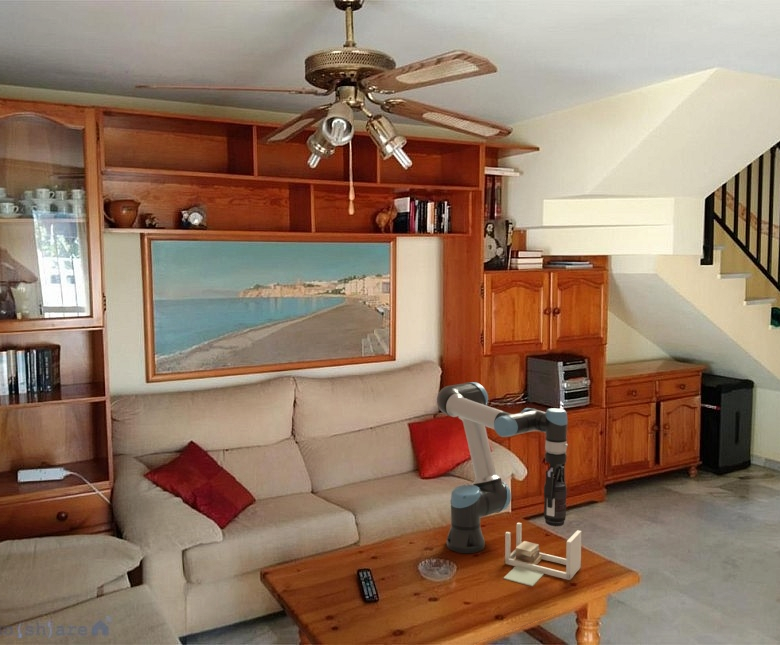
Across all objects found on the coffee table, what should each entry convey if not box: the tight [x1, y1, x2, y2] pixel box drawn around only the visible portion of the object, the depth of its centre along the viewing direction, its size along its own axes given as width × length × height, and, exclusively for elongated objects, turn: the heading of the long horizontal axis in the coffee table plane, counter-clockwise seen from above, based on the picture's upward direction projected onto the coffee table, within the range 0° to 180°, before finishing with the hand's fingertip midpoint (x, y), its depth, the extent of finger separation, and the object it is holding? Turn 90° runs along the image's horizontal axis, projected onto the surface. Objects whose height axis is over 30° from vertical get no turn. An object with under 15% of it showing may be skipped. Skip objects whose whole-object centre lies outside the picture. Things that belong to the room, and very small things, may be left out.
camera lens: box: [543, 481, 568, 527], centre depth 256 cm, size 8×8×15 cm
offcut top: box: [515, 540, 540, 557], centre depth 264 cm, size 6×8×2 cm
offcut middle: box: [516, 549, 541, 563], centre depth 264 cm, size 7×7×2 cm
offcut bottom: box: [513, 555, 542, 565], centre depth 264 cm, size 8×8×2 cm
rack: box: [504, 522, 582, 581], centre depth 260 cm, size 25×12×14 cm, turn 57°
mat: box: [503, 566, 545, 587], centre depth 252 cm, size 11×11×1 cm
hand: (554, 511), depth 256 cm, fingers closed on camera lens, 8 cm apart
